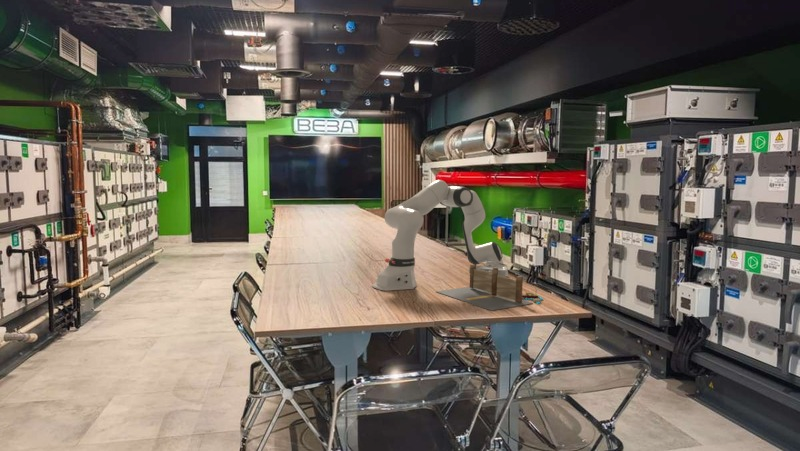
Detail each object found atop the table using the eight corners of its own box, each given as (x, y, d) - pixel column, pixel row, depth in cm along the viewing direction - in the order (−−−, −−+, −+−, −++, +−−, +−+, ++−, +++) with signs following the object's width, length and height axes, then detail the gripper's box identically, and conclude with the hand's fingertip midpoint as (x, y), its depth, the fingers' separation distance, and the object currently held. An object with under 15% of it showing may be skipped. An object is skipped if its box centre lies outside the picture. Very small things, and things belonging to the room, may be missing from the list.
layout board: (491, 311, 216) (491, 309, 216) (435, 292, 249) (435, 291, 249) (532, 303, 229) (533, 302, 229) (474, 286, 262) (474, 285, 261)
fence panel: (490, 293, 243) (491, 269, 242) (469, 287, 255) (470, 264, 254) (493, 293, 244) (494, 269, 243) (472, 286, 257) (473, 264, 255)
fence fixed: (518, 304, 228) (519, 274, 226) (490, 295, 242) (491, 268, 241) (522, 303, 229) (523, 274, 228) (494, 295, 244) (495, 267, 242)
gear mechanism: (526, 305, 228) (547, 305, 228) (527, 293, 228) (548, 293, 228) (515, 294, 248) (535, 294, 248) (516, 283, 248) (535, 283, 248)
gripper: (472, 261, 284) (465, 265, 272) (510, 264, 277) (504, 269, 264) (472, 273, 285) (465, 277, 272) (509, 276, 277) (504, 281, 265)
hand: (485, 273), depth 268 cm, fingers closed
